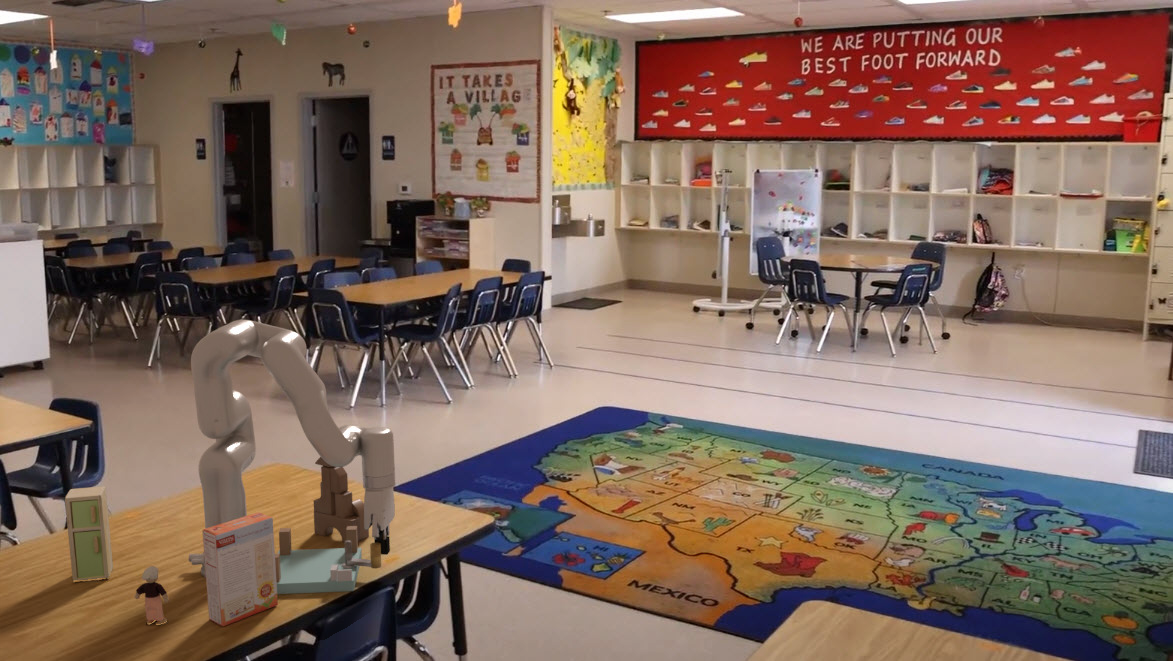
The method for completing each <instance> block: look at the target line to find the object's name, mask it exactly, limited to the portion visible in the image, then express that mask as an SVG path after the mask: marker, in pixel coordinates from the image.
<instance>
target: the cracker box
mask: <svg viewBox="0 0 1173 661" xmlns="http://www.w3.org/2000/svg"><path fill="white" fill-rule="evenodd" d="M274 535H275V534H274V518H273V517H272V516H269V515H267V514H264V513H261V512H259V511H257V512H255V513H251V514H249V515H248V514H247V516H245V517H241V518H238V519H235V520H232V521H229V522H225V523H222V524H219V525H216V526H212V527H209V528H206V529H205V528H203V529H202V542H203V543H202V544H203V545H202V546H203V552H204V558H205V571H206V577H205V581H206V593H207V596H206V597H207V608H208V609H207V610H208V611H207V612H208V619H209V620H210V621H212V622H213V621H214V623H215V624H217V625H219V626H221V627H225V626H228V625H231V624H233V623H235V622H238V621H240V620H243V619H245V618H248V617H251V616H253V615H256V614H258V613H261V612H263V611H267V610H268V609H272V608H274V607H276V606H278V604H279V603H278V594H277V582H276V565H275V554H276V553H275V551H276V550H275V536H274Z"/></svg>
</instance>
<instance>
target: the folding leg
mask: <svg viewBox="0 0 1173 661" xmlns="http://www.w3.org/2000/svg"><path fill="white" fill-rule="evenodd" d="M369 545H370V546H369V547H370V549H369V552H370V559H366V558H361V559H358V558H352V545H351V541H350V540H347V541H345V542H344V548H345V564H346V565H356V566H360V567H367V568H371V569H380V568H381V567H382V554H381V544H380V543H377V542H376V543H375V542H372V543H369Z"/></svg>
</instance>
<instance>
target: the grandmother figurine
mask: <svg viewBox="0 0 1173 661" xmlns="http://www.w3.org/2000/svg"><path fill="white" fill-rule="evenodd" d="M141 579H142V580H144V581H145V582H144V583H142V584H141V585H139V586H138V588H137V589H136V590H135V595H134V599H136V600H139V599H140V597H141V595H143V594H144V610H145V617H146V620H148V621H146V622H147V623H152V622H153V621H154V620H156V621H157V622H155V624H161V623H164V622H166V621H167V620H168V619H167V618H166V617H164V610H163V602H164V603H169V602H170V599H169V596H168V592H167V591H166V589H165V588H164V586H163V585H162V584H161V583H158V582H157V581H158V580H159V568H158V567H157V566H153V565H150V566H148V567H147V568H146V569H145V570H144V571H143V573H142V575H141ZM162 599H163V602H162Z"/></svg>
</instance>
